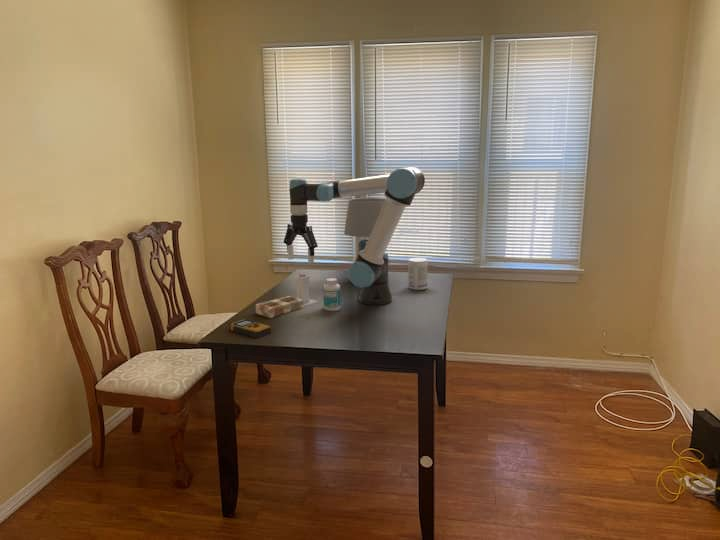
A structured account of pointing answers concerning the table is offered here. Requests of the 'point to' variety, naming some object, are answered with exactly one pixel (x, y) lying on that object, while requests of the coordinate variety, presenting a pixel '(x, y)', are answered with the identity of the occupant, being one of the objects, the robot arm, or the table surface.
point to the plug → (303, 287)
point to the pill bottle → (332, 295)
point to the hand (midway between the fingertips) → (300, 261)
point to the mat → (310, 302)
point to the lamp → (362, 218)
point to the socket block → (279, 306)
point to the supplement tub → (417, 273)
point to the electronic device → (249, 328)
